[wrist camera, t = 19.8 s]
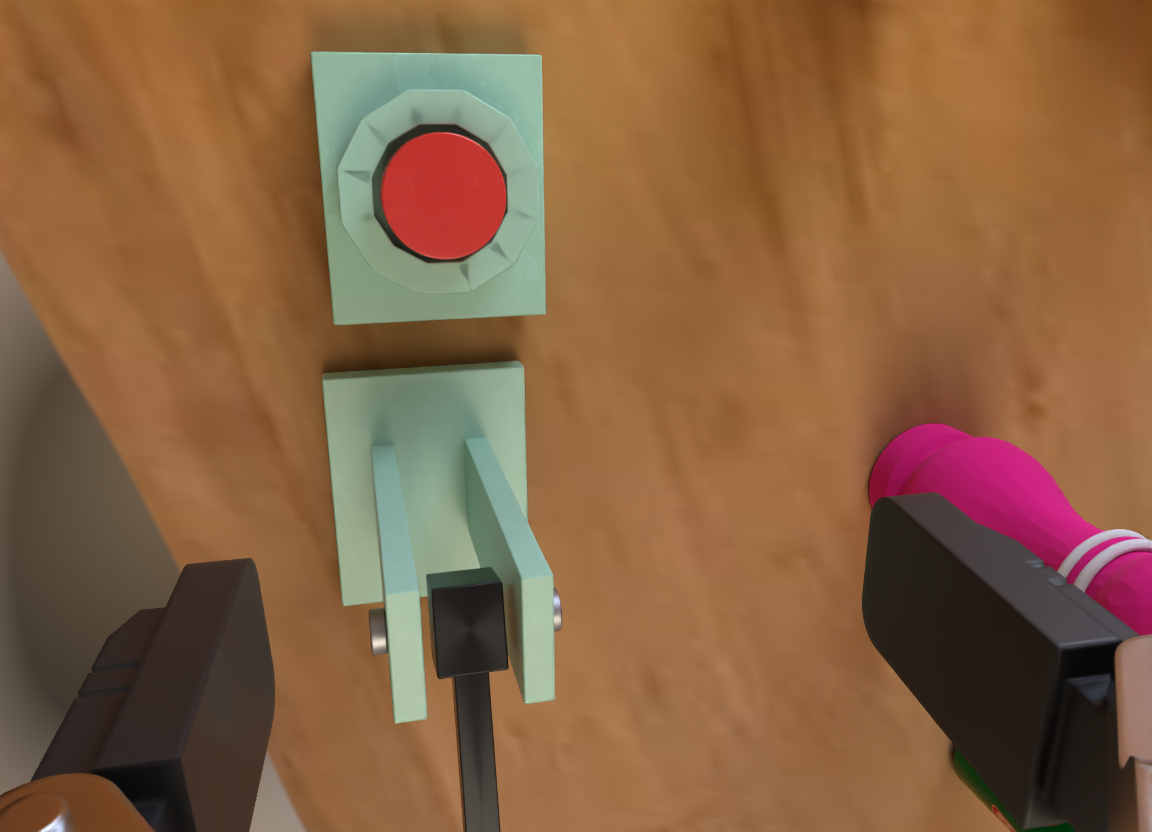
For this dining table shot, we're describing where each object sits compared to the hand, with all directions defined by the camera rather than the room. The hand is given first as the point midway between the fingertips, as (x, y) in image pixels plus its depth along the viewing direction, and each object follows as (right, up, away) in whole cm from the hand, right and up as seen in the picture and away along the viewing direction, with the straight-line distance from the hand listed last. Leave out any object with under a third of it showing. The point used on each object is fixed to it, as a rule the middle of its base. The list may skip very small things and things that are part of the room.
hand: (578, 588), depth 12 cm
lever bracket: (-7, -1, +30) cm, 30 cm away
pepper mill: (+18, -1, +36) cm, 40 cm away
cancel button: (-5, +10, +22) cm, 25 cm away
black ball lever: (-4, -10, +19) cm, 22 cm away
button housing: (-6, +12, +26) cm, 29 cm away
